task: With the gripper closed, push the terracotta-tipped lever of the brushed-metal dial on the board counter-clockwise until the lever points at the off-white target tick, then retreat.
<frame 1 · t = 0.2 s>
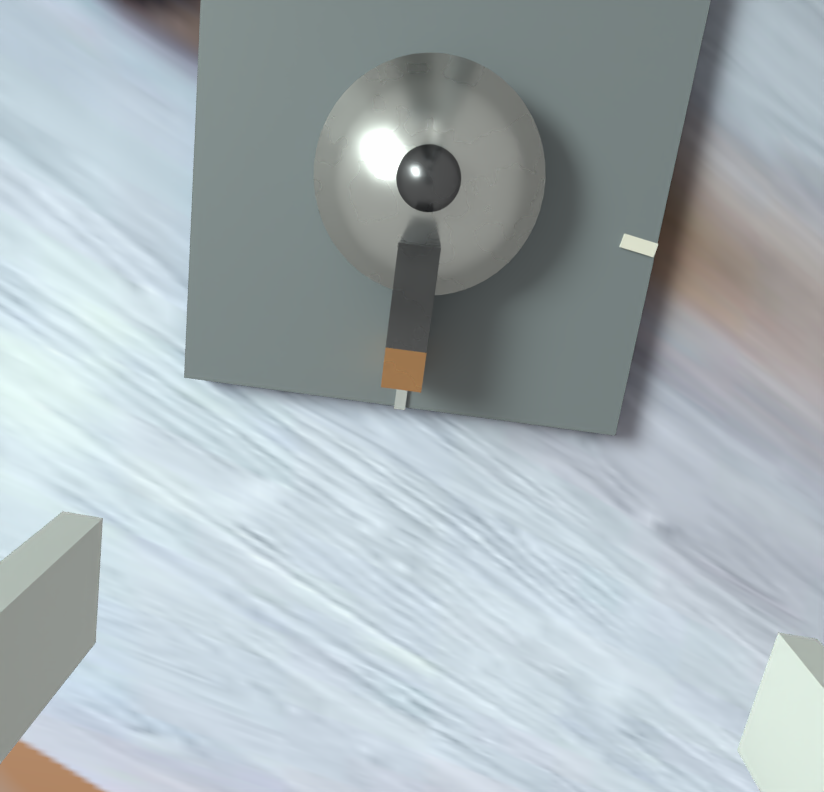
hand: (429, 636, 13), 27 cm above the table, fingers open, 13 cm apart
dial: (422, 227, 34), point 4 cm above the table, hinge at 0.0°
dial board: (429, 182, 37), on the table
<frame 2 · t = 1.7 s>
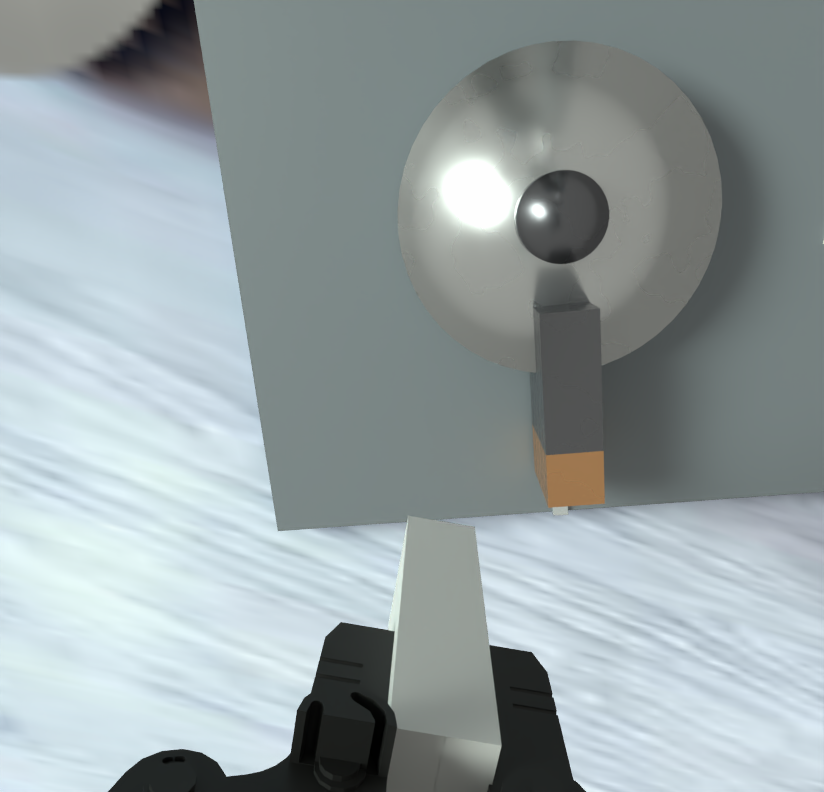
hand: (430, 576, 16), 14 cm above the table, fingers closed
dial: (559, 282, 25), point 4 cm above the table, hinge at 0.0°
dial board: (541, 215, 27), on the table
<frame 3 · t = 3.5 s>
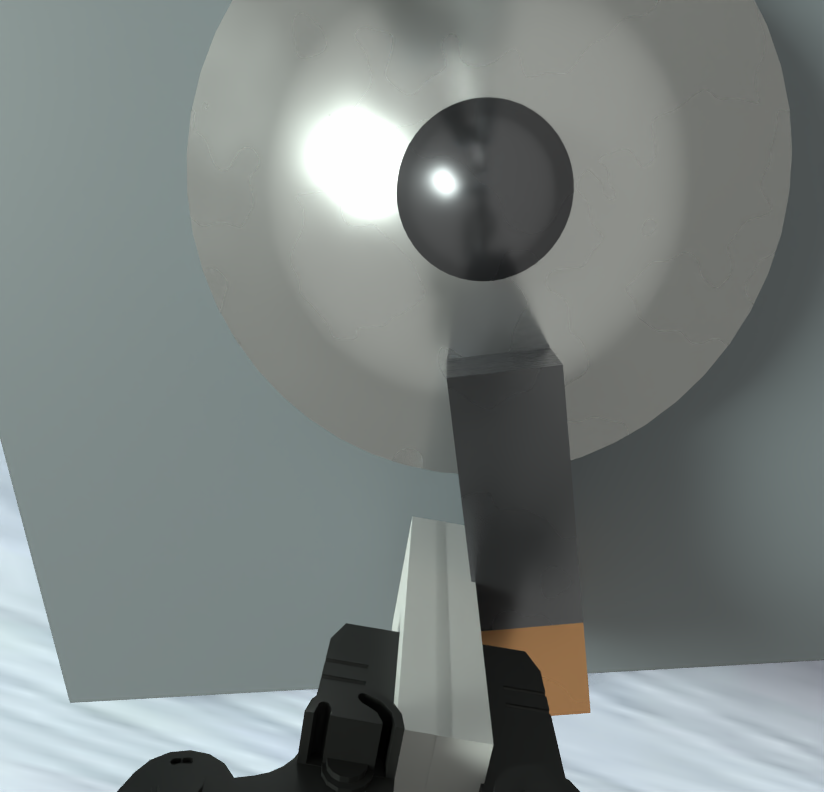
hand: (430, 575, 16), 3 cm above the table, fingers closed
dial: (493, 313, 14), point 4 cm above the table, hinge at 1.5°, touching gripper
dial board: (474, 198, 16), on the table
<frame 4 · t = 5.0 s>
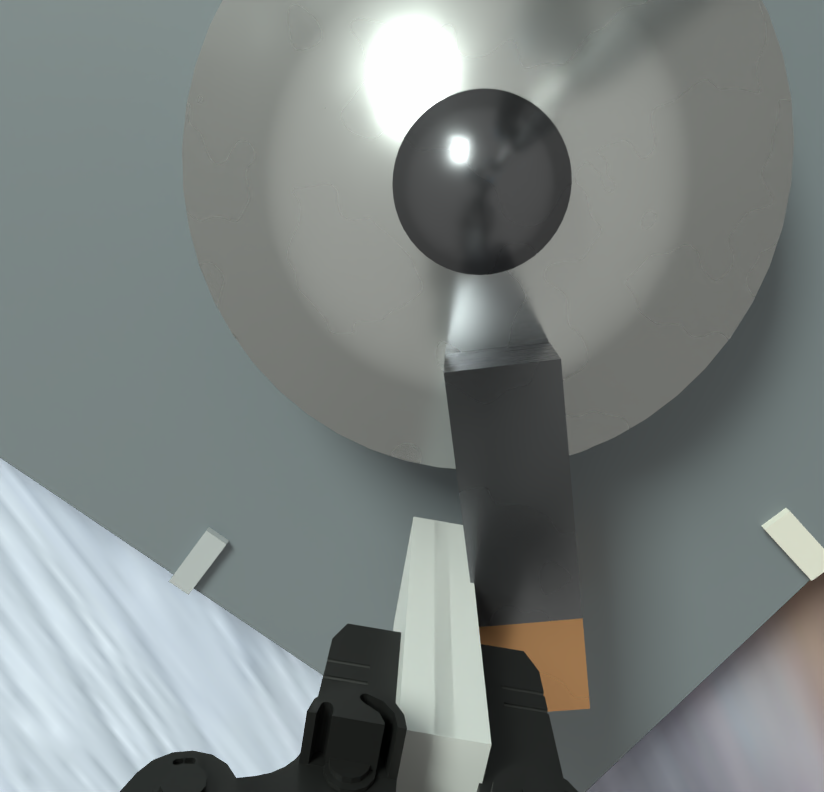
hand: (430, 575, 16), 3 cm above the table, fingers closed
dial: (491, 307, 13), point 4 cm above the table, hinge at 44.8°, touching gripper
dial board: (473, 191, 16), on the table
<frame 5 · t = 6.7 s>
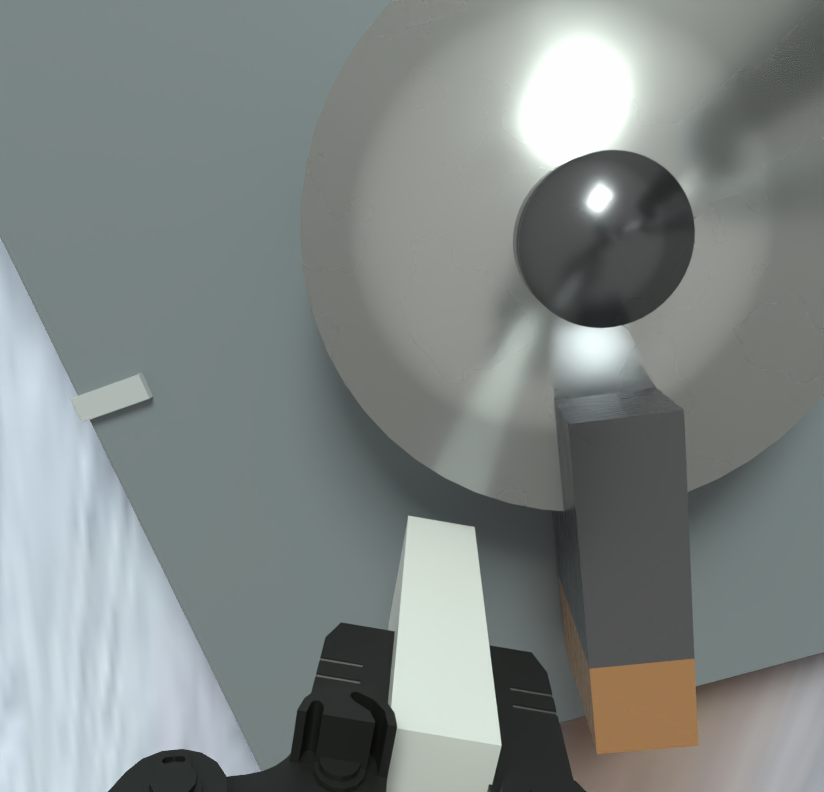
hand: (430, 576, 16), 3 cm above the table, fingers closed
dial: (599, 354, 14), point 4 cm above the table, hinge at 78.4°
dial board: (559, 232, 17), on the table
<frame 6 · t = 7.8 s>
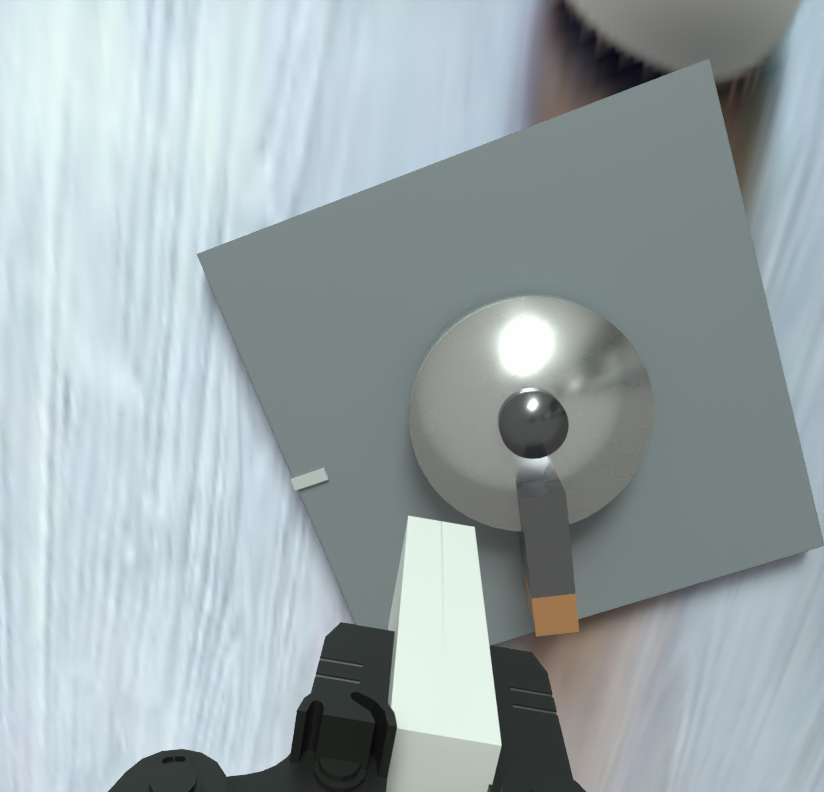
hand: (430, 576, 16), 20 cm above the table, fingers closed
dial: (535, 464, 32), point 4 cm above the table, hinge at 78.4°
dial board: (520, 398, 35), on the table
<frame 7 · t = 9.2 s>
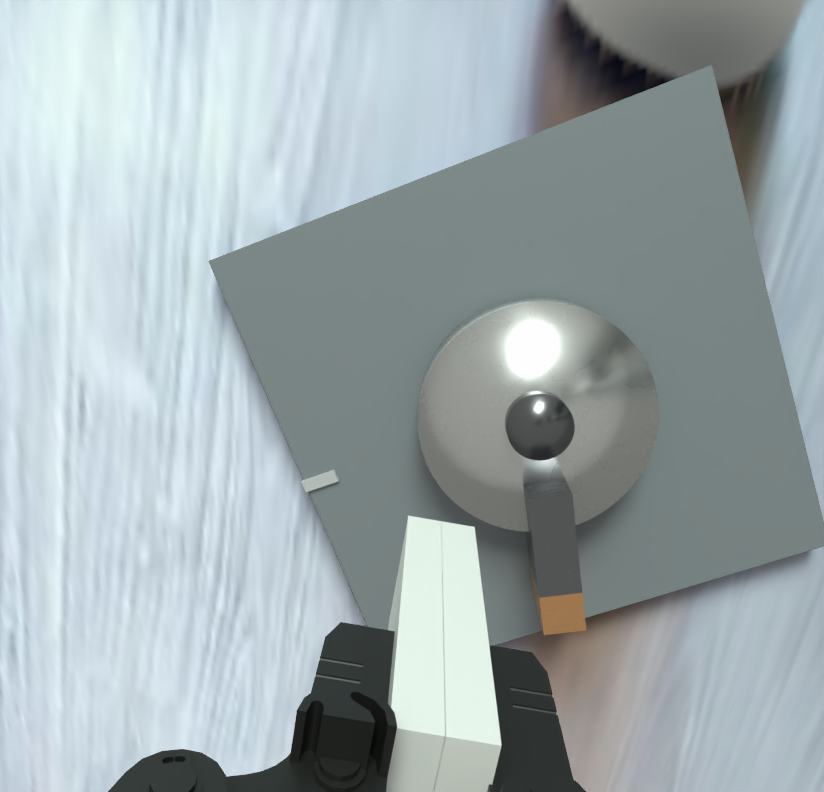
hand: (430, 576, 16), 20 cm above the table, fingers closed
dial: (542, 466, 33), point 4 cm above the table, hinge at 78.4°
dial board: (527, 400, 36), on the table
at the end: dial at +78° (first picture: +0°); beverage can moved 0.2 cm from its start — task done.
